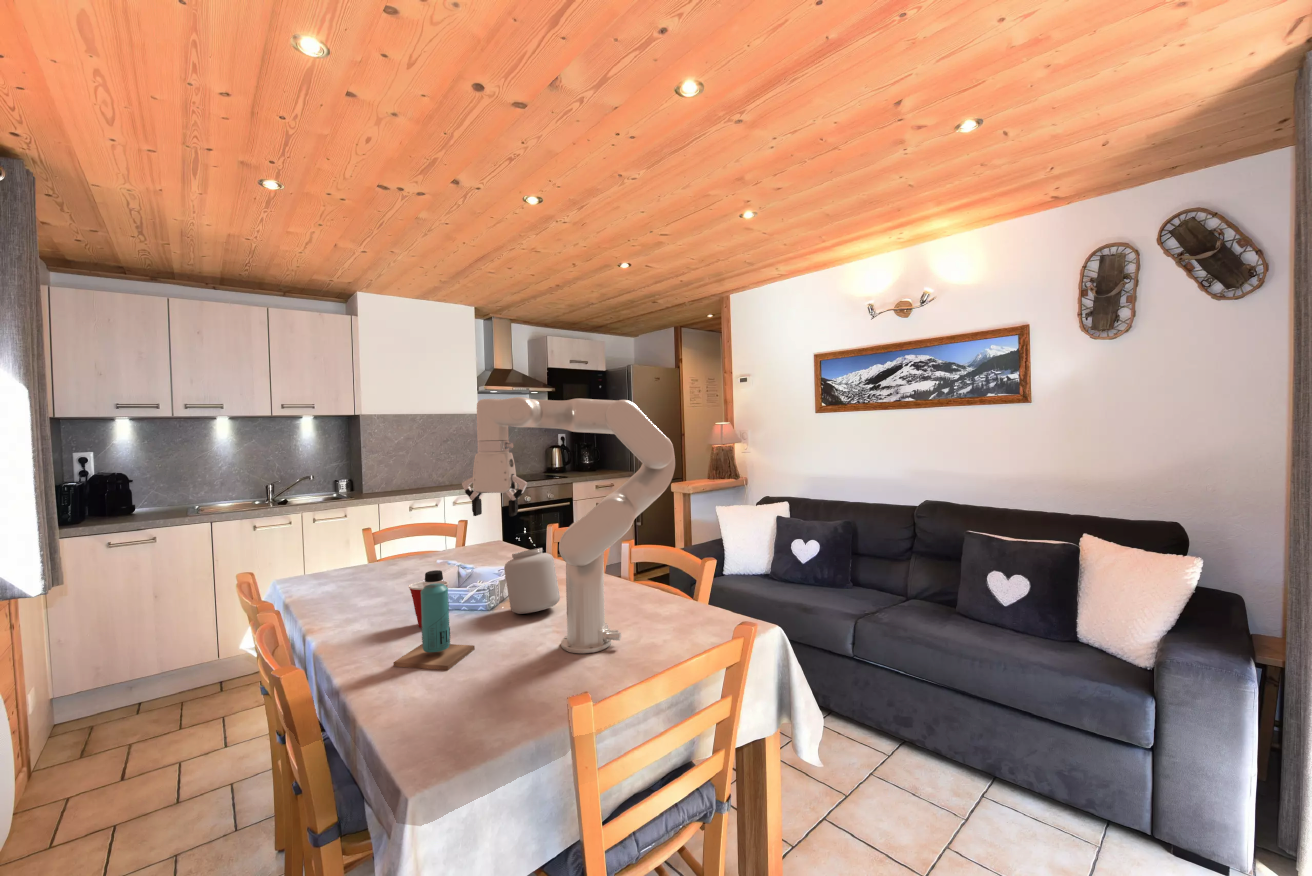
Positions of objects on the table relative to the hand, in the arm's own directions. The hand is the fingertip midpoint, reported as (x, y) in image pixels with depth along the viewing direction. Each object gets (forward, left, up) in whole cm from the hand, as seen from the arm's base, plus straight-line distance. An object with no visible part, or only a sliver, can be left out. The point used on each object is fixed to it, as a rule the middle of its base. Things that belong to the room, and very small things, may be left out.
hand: (495, 515), depth 141 cm
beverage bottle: (+12, +9, -32) cm, 36 cm away
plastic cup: (+27, -12, -34) cm, 45 cm away
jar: (+3, -27, -34) cm, 43 cm away
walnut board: (+12, +9, -33) cm, 37 cm away
